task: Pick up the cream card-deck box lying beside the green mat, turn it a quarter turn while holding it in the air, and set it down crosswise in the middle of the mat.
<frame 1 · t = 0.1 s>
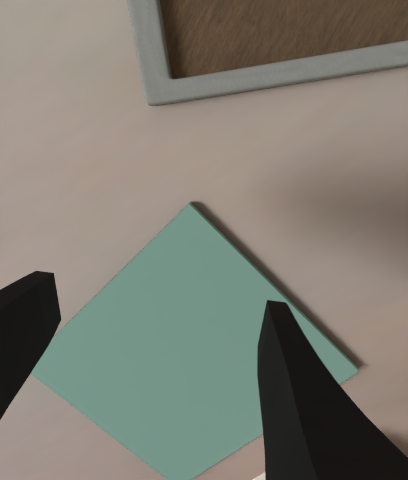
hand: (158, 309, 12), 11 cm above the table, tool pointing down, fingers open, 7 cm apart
mat: (183, 363, 25), on the table
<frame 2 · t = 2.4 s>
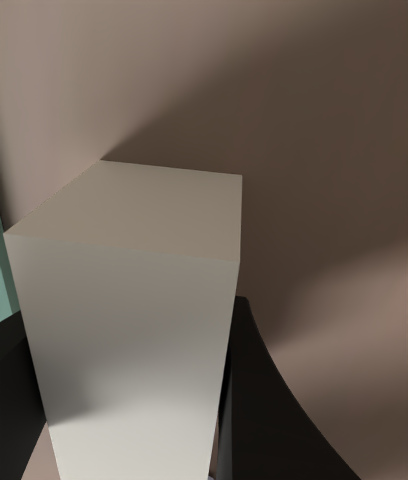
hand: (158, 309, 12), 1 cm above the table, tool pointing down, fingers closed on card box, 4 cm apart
card box: (166, 284, 13), on the table, touching gripper
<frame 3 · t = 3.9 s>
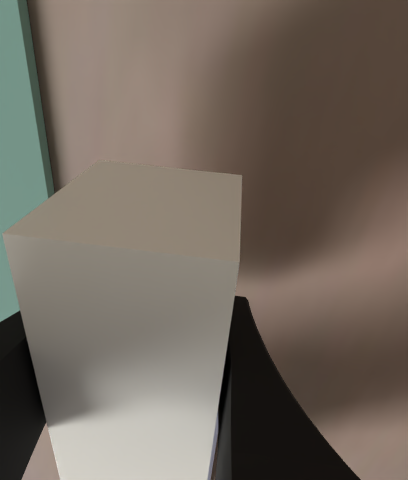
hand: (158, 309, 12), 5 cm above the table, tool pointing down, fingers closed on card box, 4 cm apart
card box: (166, 284, 13), point 4 cm above the table, touching gripper
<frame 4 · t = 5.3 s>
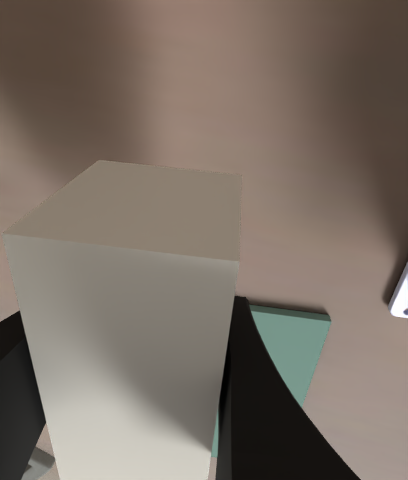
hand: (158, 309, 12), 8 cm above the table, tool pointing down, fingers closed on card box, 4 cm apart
mat: (179, 381, 26), on the table
card box: (166, 284, 13), point 7 cm above the table, touching gripper
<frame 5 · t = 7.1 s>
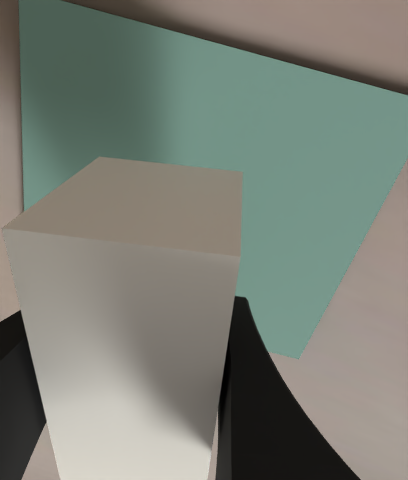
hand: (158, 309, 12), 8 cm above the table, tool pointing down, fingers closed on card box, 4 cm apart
mat: (191, 210, 19), on the table
card box: (166, 282, 13), point 7 cm above the table, touching gripper
when the fingers open (4 cm above the table, at t = 8.5 s): card box drops 2 cm, resting on mat.
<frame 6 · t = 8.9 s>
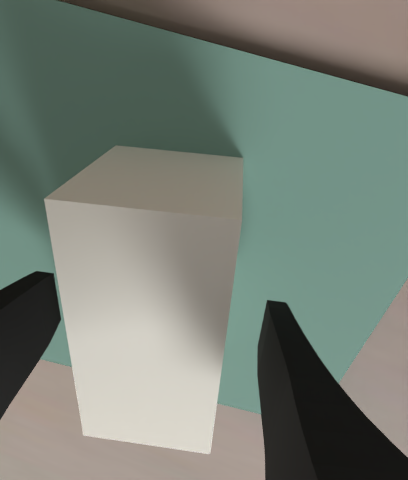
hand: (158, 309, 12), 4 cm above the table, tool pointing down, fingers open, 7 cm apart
mat: (176, 254, 15), on the table
card box: (175, 260, 14), point 1 cm above the table, touching mat
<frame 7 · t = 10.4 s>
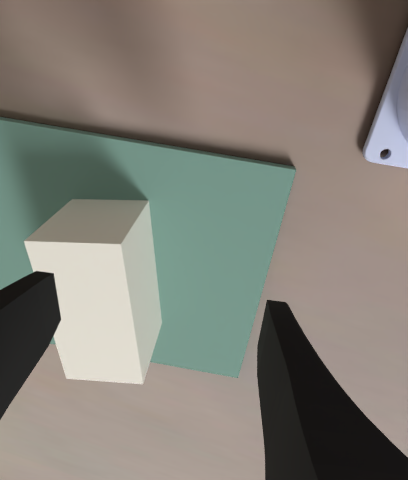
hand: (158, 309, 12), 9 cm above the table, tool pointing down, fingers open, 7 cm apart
mat: (123, 262, 22), on the table
card box: (121, 266, 22), point 1 cm above the table, touching mat
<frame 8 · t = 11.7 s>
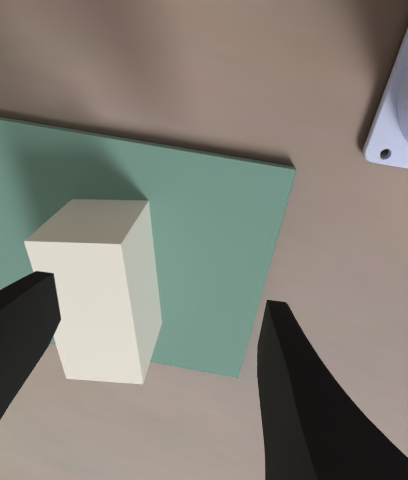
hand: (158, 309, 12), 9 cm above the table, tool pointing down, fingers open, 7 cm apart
mat: (123, 262, 22), on the table
card box: (121, 266, 22), point 1 cm above the table, touching mat
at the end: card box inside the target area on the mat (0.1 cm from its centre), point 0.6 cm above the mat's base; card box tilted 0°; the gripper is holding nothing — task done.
